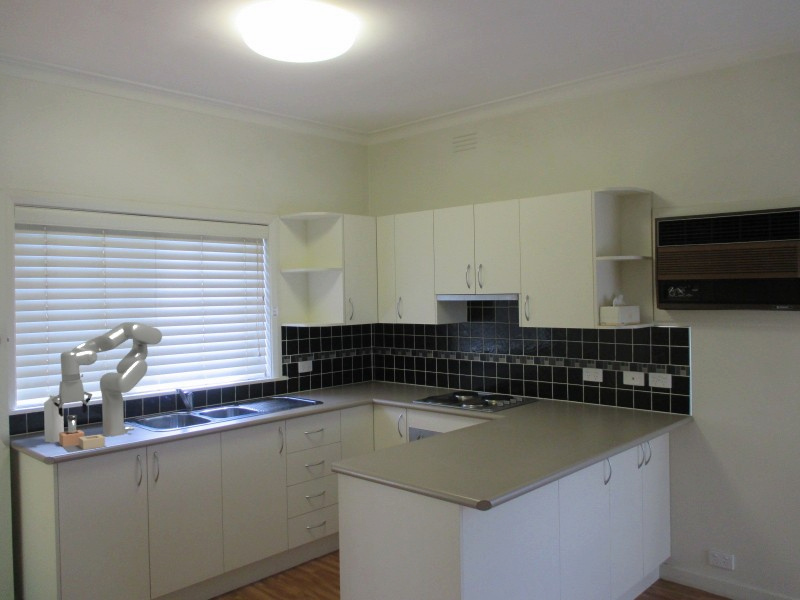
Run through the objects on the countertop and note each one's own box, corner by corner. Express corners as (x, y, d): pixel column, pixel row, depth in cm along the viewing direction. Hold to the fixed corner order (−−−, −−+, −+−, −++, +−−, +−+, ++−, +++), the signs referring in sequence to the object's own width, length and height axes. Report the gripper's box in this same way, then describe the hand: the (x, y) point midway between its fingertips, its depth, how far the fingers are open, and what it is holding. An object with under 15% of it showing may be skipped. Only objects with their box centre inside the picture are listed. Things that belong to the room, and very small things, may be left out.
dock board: (94, 440, 319) (94, 427, 318) (106, 449, 300) (106, 435, 299) (57, 445, 309) (57, 432, 309) (68, 455, 290) (67, 441, 290)
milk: (56, 439, 322) (55, 394, 322) (64, 440, 319) (63, 395, 319) (44, 442, 317) (43, 396, 316) (52, 443, 314) (51, 396, 314)
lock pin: (76, 441, 310) (76, 414, 310) (78, 443, 307) (78, 415, 307) (66, 443, 308) (65, 415, 307) (68, 445, 304) (67, 417, 304)
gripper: (89, 374, 315) (91, 410, 316) (48, 379, 305) (50, 416, 305) (92, 376, 309) (94, 412, 310) (51, 381, 299) (53, 418, 299)
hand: (72, 414), depth 308 cm, fingers open, 9 cm apart
